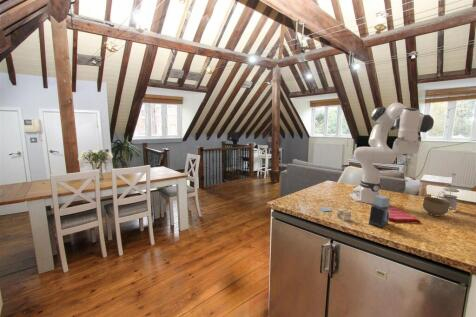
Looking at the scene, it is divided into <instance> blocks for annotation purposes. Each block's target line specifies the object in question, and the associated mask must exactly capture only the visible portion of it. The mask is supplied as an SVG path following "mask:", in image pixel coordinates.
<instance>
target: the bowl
mask: <svg viewBox="0 0 476 317" xmlns="http://www.w3.org/2000/svg"><path fill="white" fill-rule="evenodd" d="M439 198H440V197H438V198H437V197H432V196H424V197H423V202H422V207H423V209H424V210H425V212H426V213H427V214H428V213H429V214H428V215H430V214H432V215H439V216H442V215H445V214H447V213H449V212H448V208H449V205H450V203H449V202H448V201H445V200H442V198H440V199H439ZM432 215H431V216H432Z"/></svg>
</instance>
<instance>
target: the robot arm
mask: <svg viewBox="0 0 476 317" xmlns="http://www.w3.org/2000/svg"><path fill="white" fill-rule="evenodd" d="M420 111H421V110H420V108H417V107H407V106H406V105H405V104H403V103H401V102H392V103H391V104H389V105H388V107H385V106H382V107H381V106H378V107H376V108H375V109H374V110H372V112H371V116H370V118H371V120H372V121H374V122H376V123H377V124H375V125H374V126H373V128H372V130H371V132H370V135H369V138H368V145H369V146H358V147H356V148H355V149H354V151H353V157H354V159H355V161H357V162H358V163H359V164H360V166H361V170H362V178H361V179H362V180H360V182H359V183H360V184H358V185H357V186H356V187H354V188H353V190H352V193H351V192H350V193H349V194H348V196H349V197H351V198H352V199H353V200H354V201H356V202H360V203H364V204H365V203H366V204H369V205H370V204H371V205H374V198H375V196H379V195H381V189H380V188H381V176H382V172H381V171H380V170H379V169H378V168H377V167H375V166H373V164H382V165H388V164H389V165H390V164H393V163H394V162H395V161H396V162H397V163H402V162H403V159H402V156H403V155H407V157H406V162H411V161H412V158H413V157H414V154H418V153H419V151H420V146H421V141H422V136H420V135H419V132H420V133H427V132H429V131H430V130H432V129H433V127H434V122H435V120H434V118H433V116H432V115H430V114H423V113H421V112H420ZM395 130H396V131H398V133H397V138H396V139H395V140H394V141H393V145H392V148H390V147H389V146H388V144H387V140H388V134H389V131H395Z"/></svg>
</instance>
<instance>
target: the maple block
mask: <svg viewBox="0 0 476 317" xmlns="http://www.w3.org/2000/svg"><path fill="white" fill-rule="evenodd" d="M351 217H352V211H351V210H348V209H346V208H340V209H337V213H336V218H337V219H339V220H341V221H343V222H345V221H351Z"/></svg>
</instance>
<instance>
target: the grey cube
mask: <svg viewBox="0 0 476 317" xmlns="http://www.w3.org/2000/svg"><path fill="white" fill-rule="evenodd" d="M373 205H376V206H379V207H381V208H384V207H389V206H390V197H387V196H385V195H382V194H380V195H379V196H375V198H374V204H373Z"/></svg>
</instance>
